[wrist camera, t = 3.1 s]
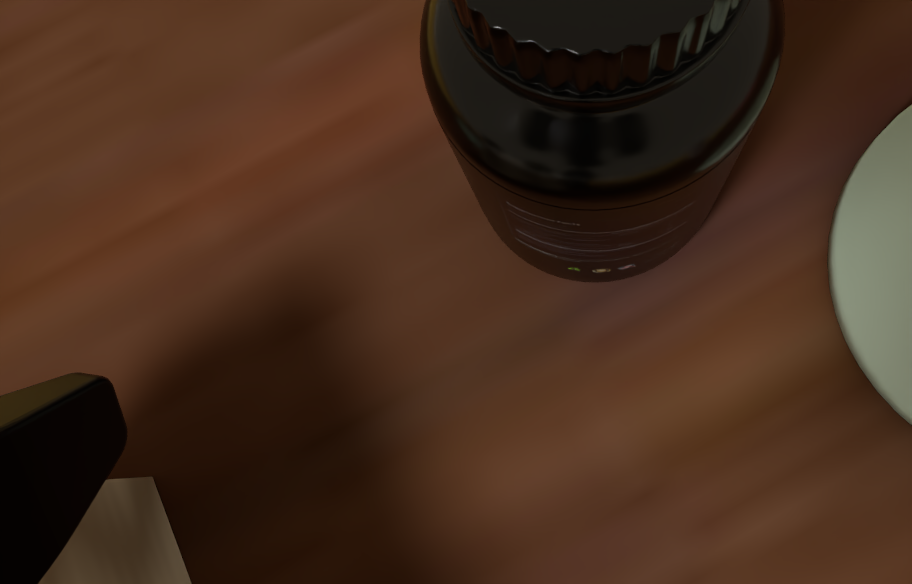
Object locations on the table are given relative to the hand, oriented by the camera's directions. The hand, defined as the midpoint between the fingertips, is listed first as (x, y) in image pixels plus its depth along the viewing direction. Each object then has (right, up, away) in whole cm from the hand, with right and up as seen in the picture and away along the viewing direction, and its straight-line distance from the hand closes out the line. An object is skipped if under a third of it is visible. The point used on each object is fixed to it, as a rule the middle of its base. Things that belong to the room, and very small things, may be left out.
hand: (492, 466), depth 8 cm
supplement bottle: (+4, +5, +15) cm, 16 cm away
